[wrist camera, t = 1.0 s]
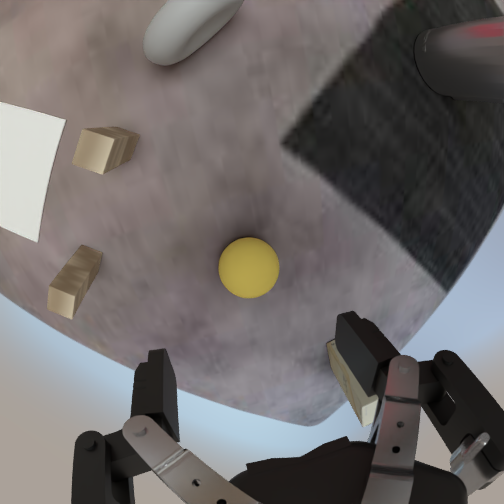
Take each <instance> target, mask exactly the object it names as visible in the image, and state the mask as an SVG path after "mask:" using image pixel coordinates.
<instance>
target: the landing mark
mask: <svg viewBox="0 0 504 504" xmlns="http://www.w3.org/2000/svg"><path fill="white" fill-rule="evenodd" d="M65 123H66V120H65V119H62V118H58V117H55V116H51V115H48V114H44V113H41V112H37V111H34V110H30V109H26V108H23V107H19V106H15V105H11V104H7V103H3V102H0V226H1V227H3V228H5V229H7V230H10V231H12V232H14V233H16V234H19V235H21V236H23V237H25V238H28V239H30V240H32V241H35V242H37V243H38V240H39V233H40V226H41V220H42V214H43V208H44V203H45V198H46V193H47V189H48V184H49V180H50V175H51V171H52V167H53V164H54V160H55V156H56V152H57V149H58V146H59V142H60V139H61V136H62V132H63V129H64V126H65Z"/></svg>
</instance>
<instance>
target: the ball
mask: <svg viewBox="0 0 504 504" xmlns="http://www.w3.org/2000/svg"><path fill="white" fill-rule="evenodd" d="M219 275H220V279H221V281H222V283H223V284H224V286H225V287H226V288H227V289H228V290H229V291H230V292H231V293H233V294H234V295H236V296H239V297H242V298H255V297H259V296H261V295H263V294H265V293H267V292H268V291H269V290H270V289H271V288H272V287H273V286H274V284H275V283H276V281H277V278H278V275H279V261H278V258H277V255H276V253H275V251H274V250H273V249H272V248H271V246H270V245H268V244H267V243H266V242H264V241H262V240H260V239H257V238H250V237H247V238H241V239H238V240H236V241H234V242H232V243H231V244H230V245H228V246H227V247H226V249H225V250H224V251H223V253H222V255H221V257H220V260H219Z"/></svg>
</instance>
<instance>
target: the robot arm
mask: <svg viewBox="0 0 504 504" xmlns="http://www.w3.org/2000/svg"><path fill="white" fill-rule="evenodd" d="M414 53H415V60H416V64H417V67H418V69H419V72H420V74H421V76H422V77H423V79H424V81H425V82H426V83H427V84H428V86H429V87H430V88H431V89H432V90H434V91H435V92H437V93H438V94H441V95H444V96H451V97H452V98H453V99H454V100H465V101H479V102H489V103H499V104H504V16H503V17H494V18H487V19H480V20H473V21H467V22H462V23H456V24H451V25H447V26H442V27H438V28H433V29H429V30H426V31H423V32H421V33H420V34H419V35H418V37H417V39H416V42H415V48H414ZM335 344H336V348H337V350H338V352H339V353H340V355H341V356H342V358H343V359H344V361H345V362H346V364H347V365H348V367H349V369H350V370H351V372H352V373H353V375H354V376H355V378H356V379H357V381H358V383H359V384H360V386H361V387H362V389H363V390H364V392H365V393H366V395H367V397H371V396H373V395H377V396H378V401H377V406H376V410H375V415H374V419H373V424H372V428H371V432H370V436H369V438H368V441H367V442H362V441H351V442H350V441H349V439H348V437H347V436H345V437H342V438H339V439H336V440H334V441H331V442H328V443H325V444H322V445H321V446H319V447H317V448H316V449H314V450H312V451H310V452H309V453H307V454H305V455H303V456H301V457H293V458H271V459H267V460H262V461H257V462H253V463H247V464H246V466H247V470H246V471H243V472H241V473H240V474H238V475H236V476H235V477H233V478H232V479H231V480H230V481H229V482H228V481H227V480H225V479H224V478H223V477H222V476H220V475H219V474H218V473H217V472H215V471H214V470H213V469H211V468H210V467H209V466H207V465H206V464H205V463H204V462H203V461H201V460H200V459H199V458H198V457H197V456H195V455H194V454H193V453H192V452H191V451H189V450H188V449H183V448H182V447H181V446H180V445H179V444H178V443H177V442H180V438H179V423H178V408H177V407H178V406H177V384H176V377H175V373H174V370H173V367H172V365H171V362H170V359H169V356H168V354H167V351H166V349H165V348H164V349H157V350H150V351H149V353H148V362H144V363H140V364H139V366H138V367H137V369H136V371H135V375H134V384H133V394H132V405H131V416H130V419H128V420H127V421H126V422H125V424H124V426H123V428H122V429H121V430H119V431H117V432H114V433H111V434H108V435H105V436H102V434H100V433H99V432H97V431H86V432H84V433H82V434H81V435H80V436H79V437H78V438H77V440H76V442H75V449H74V460H73V474H72V498H71V504H135V498H134V486H133V476H136V475H139V474H142V473H145V472H148V471H151V470H152V471H153V472H154V473H155V474H156V475H157V476H158V477H159V478H160V479H161V480H162V481H163V482H164V483H165V484H166V485H167V486H168V487H169V488H170V489H171V490H172V491H173V492H174V493H175V494H176V495H177V496H178V497H179V498H180V499H181V500H182V501H184V502H185V503H186V504H468V501H467V499H468V496H469V495H470V494H472V493H473V492H475V491H476V490H481V489H484V488H486V487H487V486H488V485H490V484H491V483H492V482H493V481H495V480H496V479H497V478H498V477H499V476H500V475H502V474H503V473H504V411H503V409H502V408H501V407H500V405H499V404H498V403H497V402H496V400H495V399H494V398H493V397H492V396H491V394H490V393H489V392H488V391H487V389H486V388H485V387H484V386H483V384H482V383H481V382H480V381H479V380H478V378H477V377H476V376H475V375H474V374H473V373H472V371H471V370H470V369H469V368H468V367H467V366H466V364H465V363H464V362H463V361H462V360H461V359H460V358H459V356H458V355H457V354H455V353H454V352H452V351H448V350H442V351H439V352H437V353H436V354H435V356H434V359H433V360H429V361H421V362H417V361H416V360H415V359H414V358H412V357H410V356H407V355H401V354H400V353H399V352H398V351H397V350H396V348H395V347H394V346H393V345H392V344H391V342H390V341H389V340H388V339H387V338H386V337H384V334H383V333H382V332H381V331H380V330H379V329H378V327H377V326H376V325H375V324H374V323H373V322H371V321H369V320H367V319H366V318H363V319H361V318H360V317H359V316H358V315H357V314H356V313H355V312H354V311H350V312H346V313H342V314H339V315H338V316H337V324H336V334H335ZM447 392H448V393H447ZM448 394H449V395H450V396H451V397H450V396H449V395H448ZM451 398H452V399H453V400H454V401H453V400H452V399H451ZM454 402H455V403H454ZM421 407H422V408H423V410H424V411H425V413H426V414H427V416H428V417H429V419H430V420H431V422H432V424H433V425H434V427H435V428H436V430H437V431H438V433H439V435H440V436H441V437H442V439H443V441H444V443H445V444H446V446H447V447H448V449H449V451H450V452H451V454H452V456H451V458H450V465H451V468H450V470H451V472H452V473H451V472H449V471H445V470H442V469H439V468H436V467H433V466H430V465H427V464H425V463H422V462H419V461H416V460H415V454H416V447H417V440H418V432H419V422H420V411H421Z"/></svg>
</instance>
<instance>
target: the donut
mask: <svg viewBox="0 0 504 504" xmlns="http://www.w3.org/2000/svg"><path fill="white" fill-rule="evenodd" d="M243 1H244V0H168V1H167V2H166V3H165V4H164V5H163V7H162V8H161V9H160V10H159V11H158V12H157V14H156V15H155V16H154V18H153V20H152V21H151V23H150V24H149V26H148V28H147V30H146V33H145V35H144V38H143V50H144V53H145V56H146V57H147V59H148V60H149V61H151V62H153V63H155V64H158V65H163V66H166V65H171V64H174V63H177V62H179V61H181V60H183V59H185V58H186V57H188V56H189V55H191V54H192V53H193V52H195V51H196V50H197V49H198V48H200V47H201V46H202V45H203V44H204V43H206V42H207V41H208V40H209V39H210V38H211V37H212V36H213V35H215V34H216V33H217V32H218V31H219V30H220V29H221V28H222V27H223V26H224V25H225V24H226V23H227V22H228V21H229V20H230V19H231V18H232V17H233V16H234V14H235V13H236V12H237V11H238V10H239V8H240V7H241V5H242V3H243Z"/></svg>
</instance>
